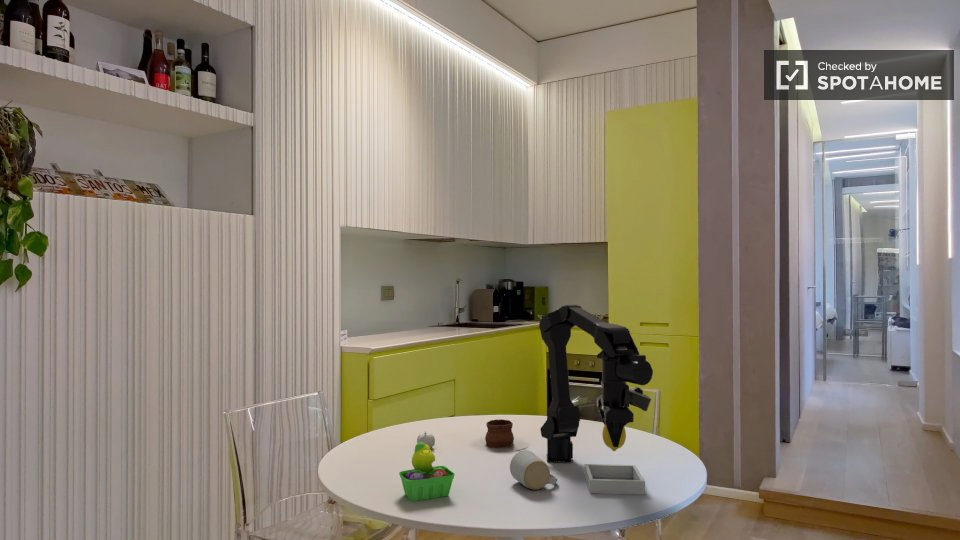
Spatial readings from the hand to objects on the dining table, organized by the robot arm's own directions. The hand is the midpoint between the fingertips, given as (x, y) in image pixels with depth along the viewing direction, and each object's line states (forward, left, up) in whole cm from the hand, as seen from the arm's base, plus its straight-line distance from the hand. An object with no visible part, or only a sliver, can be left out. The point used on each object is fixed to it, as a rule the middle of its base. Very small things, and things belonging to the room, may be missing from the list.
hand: (613, 443), depth 151 cm
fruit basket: (-44, -10, -10) cm, 46 cm away
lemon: (0, 0, -2) cm, 2 cm away
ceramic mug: (-19, -2, -10) cm, 22 cm away
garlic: (-50, +28, -10) cm, 58 cm away
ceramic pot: (-29, +34, -11) cm, 46 cm away
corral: (0, 0, -10) cm, 10 cm away
